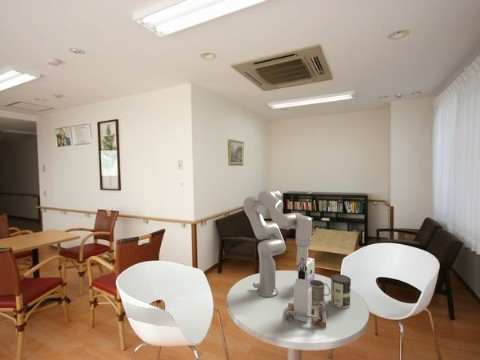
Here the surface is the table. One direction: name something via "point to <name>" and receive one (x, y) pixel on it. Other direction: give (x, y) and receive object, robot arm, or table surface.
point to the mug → (318, 291)
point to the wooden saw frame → (314, 310)
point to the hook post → (321, 310)
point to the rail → (302, 315)
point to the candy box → (309, 270)
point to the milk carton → (302, 299)
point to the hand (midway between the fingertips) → (302, 274)
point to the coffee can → (340, 290)
